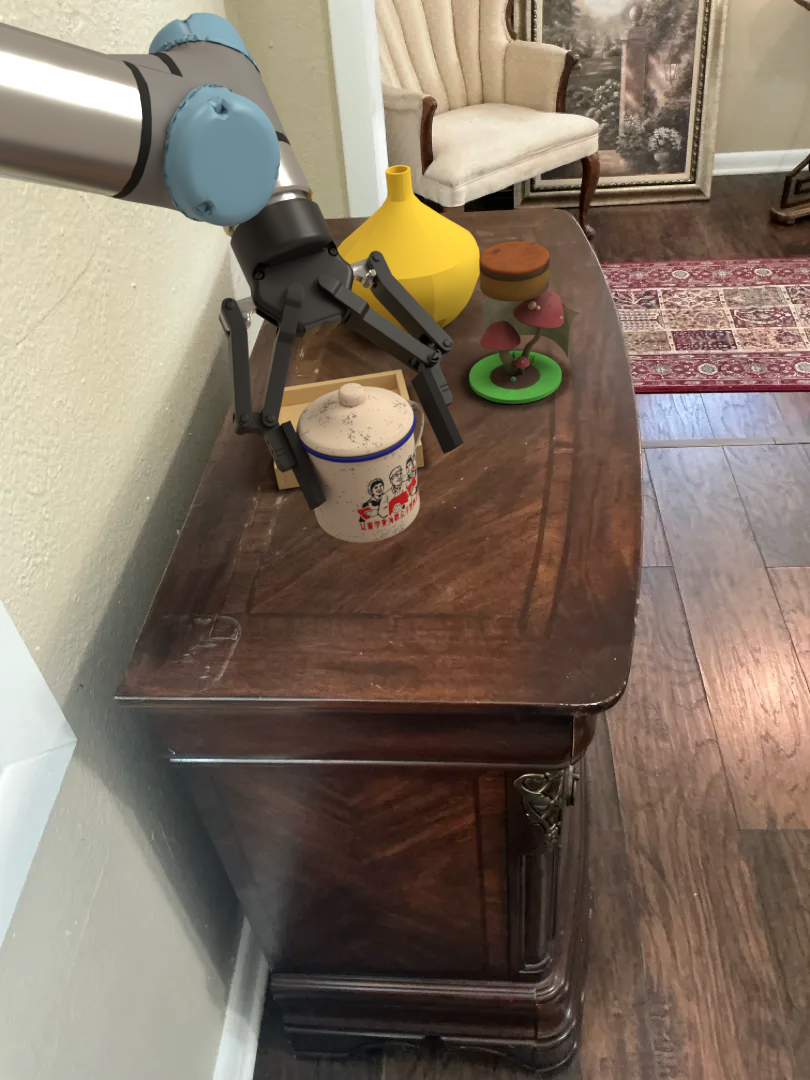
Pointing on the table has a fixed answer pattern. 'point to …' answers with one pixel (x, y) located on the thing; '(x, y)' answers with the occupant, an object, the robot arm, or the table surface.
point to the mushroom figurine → (518, 324)
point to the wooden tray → (307, 393)
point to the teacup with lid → (363, 460)
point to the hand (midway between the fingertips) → (388, 476)
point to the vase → (416, 252)
